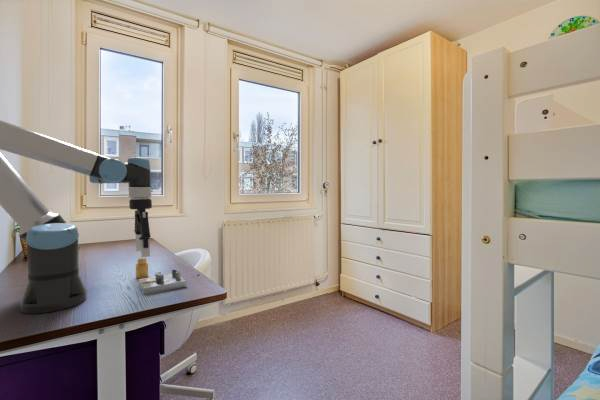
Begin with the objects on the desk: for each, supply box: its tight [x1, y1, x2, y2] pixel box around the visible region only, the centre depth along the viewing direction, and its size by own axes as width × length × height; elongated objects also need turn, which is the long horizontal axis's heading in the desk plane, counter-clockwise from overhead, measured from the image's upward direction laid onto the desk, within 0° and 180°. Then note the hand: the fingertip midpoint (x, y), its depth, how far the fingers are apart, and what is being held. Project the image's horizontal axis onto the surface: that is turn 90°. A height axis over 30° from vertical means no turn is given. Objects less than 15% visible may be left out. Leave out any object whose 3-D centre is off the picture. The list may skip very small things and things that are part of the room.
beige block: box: [135, 257, 149, 280], centre depth 114 cm, size 4×4×7 cm
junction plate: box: [138, 268, 187, 295], centre depth 103 cm, size 13×12×4 cm
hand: (142, 253), depth 114 cm, fingers open, 13 cm apart
